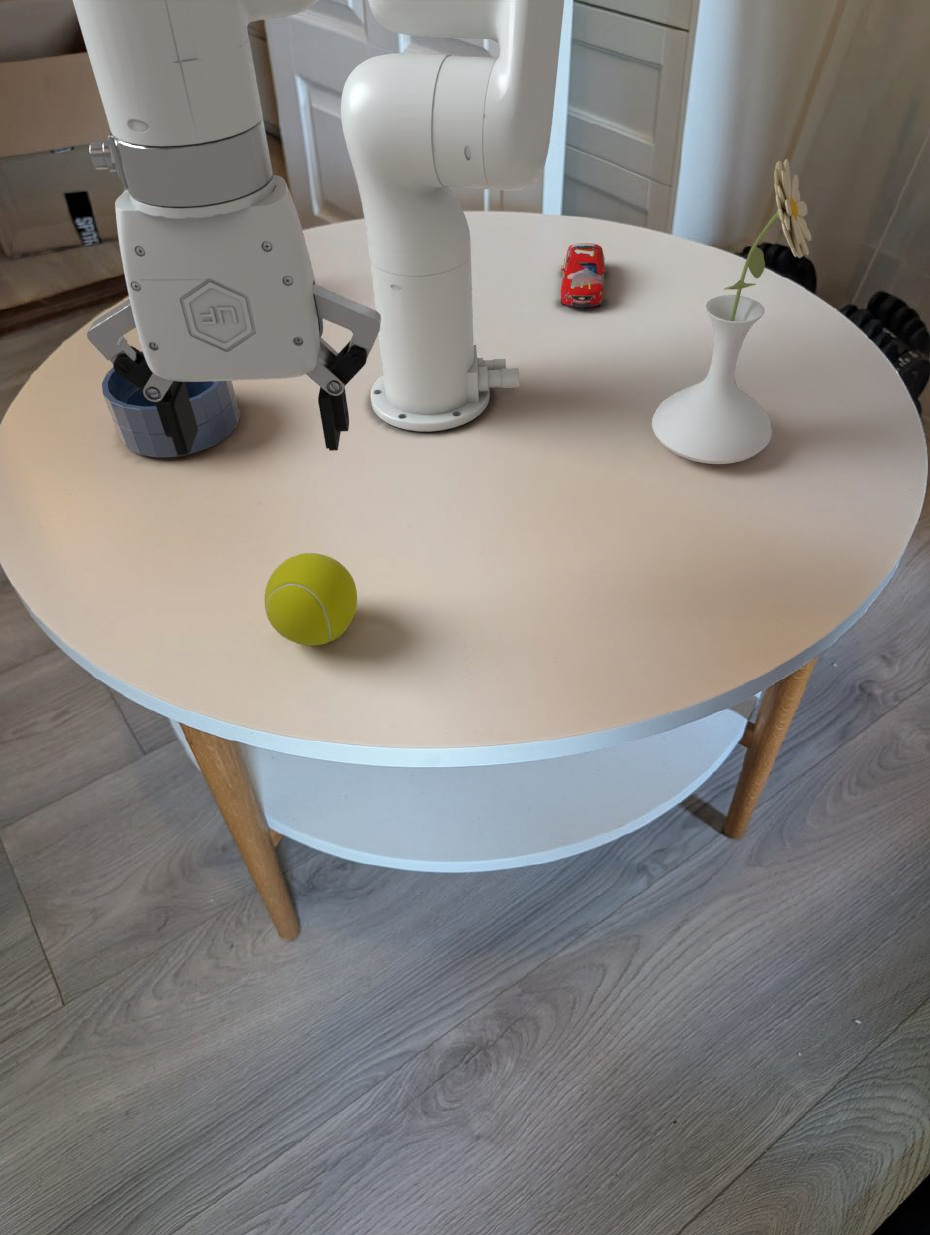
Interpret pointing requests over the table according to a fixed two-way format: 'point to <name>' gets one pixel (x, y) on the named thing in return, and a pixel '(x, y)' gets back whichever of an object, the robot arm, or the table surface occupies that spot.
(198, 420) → the blue round bowl
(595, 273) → the race car
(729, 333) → the flower in vase
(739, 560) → the table surface
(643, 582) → the table surface
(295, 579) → the tennis ball
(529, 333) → the table surface
